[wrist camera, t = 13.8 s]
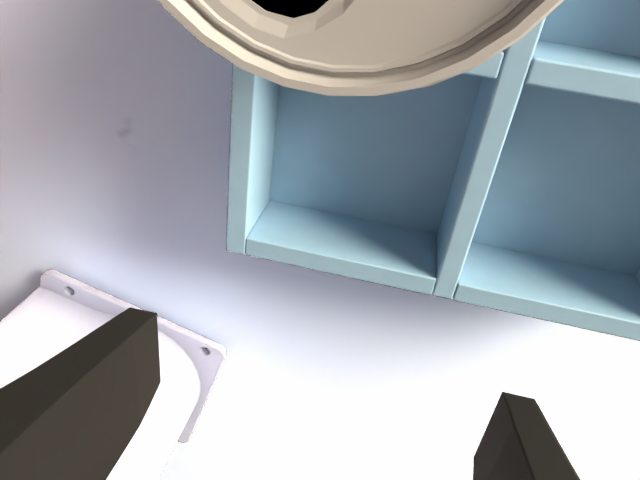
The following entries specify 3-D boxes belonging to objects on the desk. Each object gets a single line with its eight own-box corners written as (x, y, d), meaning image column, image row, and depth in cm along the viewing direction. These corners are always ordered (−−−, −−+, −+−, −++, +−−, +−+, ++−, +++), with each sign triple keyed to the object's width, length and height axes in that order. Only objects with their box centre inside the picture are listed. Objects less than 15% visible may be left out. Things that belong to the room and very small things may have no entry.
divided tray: (255, 206, 21) (225, 250, 18) (291, -319, 13) (248, -391, 10) (641, 286, 20) (677, 350, 17) (946, -250, 12) (1116, -310, 9)
